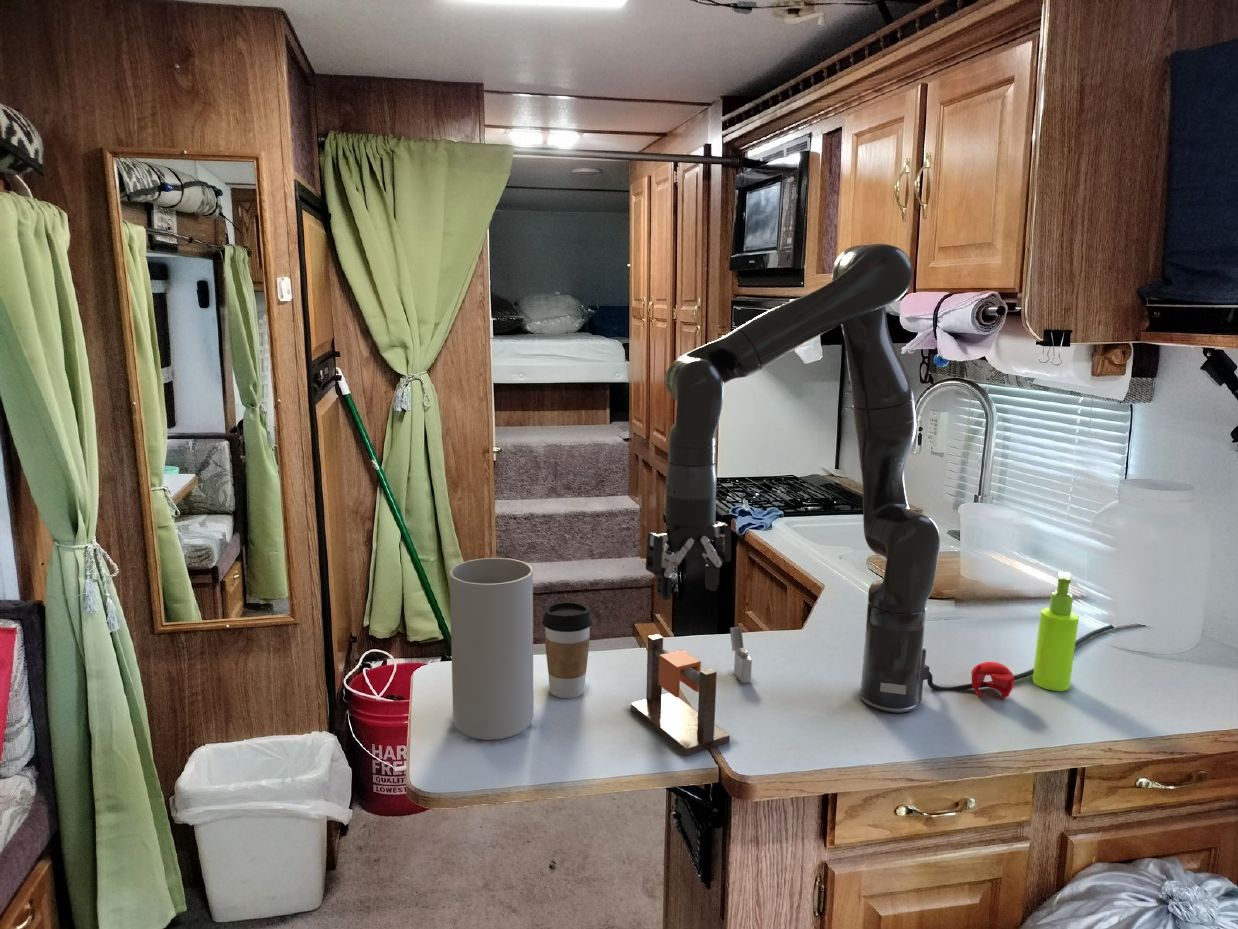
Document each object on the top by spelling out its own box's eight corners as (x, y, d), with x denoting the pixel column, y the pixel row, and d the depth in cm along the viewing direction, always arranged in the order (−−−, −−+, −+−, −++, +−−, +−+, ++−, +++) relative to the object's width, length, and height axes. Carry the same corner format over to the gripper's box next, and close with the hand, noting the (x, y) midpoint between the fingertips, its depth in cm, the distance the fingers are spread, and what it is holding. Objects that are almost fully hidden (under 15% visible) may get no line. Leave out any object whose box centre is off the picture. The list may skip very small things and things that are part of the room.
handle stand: (671, 698, 142) (673, 630, 140) (729, 742, 129) (733, 667, 126) (630, 709, 138) (631, 639, 136) (686, 756, 125) (688, 679, 122)
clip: (681, 678, 135) (682, 649, 134) (699, 691, 131) (701, 661, 130) (658, 684, 133) (659, 654, 132) (676, 697, 129) (677, 667, 128)
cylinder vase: (451, 706, 138) (447, 560, 133) (527, 699, 141) (527, 555, 136) (455, 746, 126) (451, 587, 121) (538, 737, 129) (538, 581, 124)
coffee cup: (554, 706, 139) (554, 620, 136) (534, 685, 146) (534, 602, 143) (600, 696, 143) (601, 611, 140) (579, 675, 150) (579, 595, 147)
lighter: (751, 682, 149) (753, 639, 147) (741, 683, 148) (743, 640, 147) (737, 665, 155) (739, 624, 154) (728, 666, 155) (729, 624, 153)
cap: (959, 687, 148) (962, 655, 147) (986, 682, 150) (990, 651, 149) (993, 708, 141) (997, 675, 139) (1021, 703, 143) (1025, 670, 142)
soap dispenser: (1068, 677, 152) (1082, 571, 148) (1070, 693, 146) (1084, 583, 142) (1032, 671, 155) (1045, 566, 151) (1032, 686, 149) (1046, 578, 145)
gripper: (665, 502, 120) (663, 610, 124) (744, 491, 127) (740, 593, 131) (637, 491, 127) (636, 594, 130) (714, 481, 134) (711, 579, 137)
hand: (688, 593), depth 130 cm, fingers open, 8 cm apart
